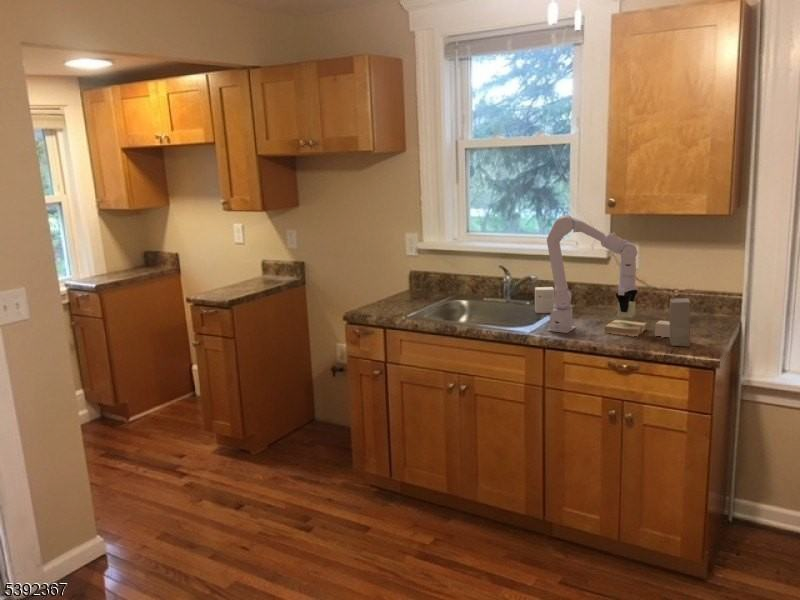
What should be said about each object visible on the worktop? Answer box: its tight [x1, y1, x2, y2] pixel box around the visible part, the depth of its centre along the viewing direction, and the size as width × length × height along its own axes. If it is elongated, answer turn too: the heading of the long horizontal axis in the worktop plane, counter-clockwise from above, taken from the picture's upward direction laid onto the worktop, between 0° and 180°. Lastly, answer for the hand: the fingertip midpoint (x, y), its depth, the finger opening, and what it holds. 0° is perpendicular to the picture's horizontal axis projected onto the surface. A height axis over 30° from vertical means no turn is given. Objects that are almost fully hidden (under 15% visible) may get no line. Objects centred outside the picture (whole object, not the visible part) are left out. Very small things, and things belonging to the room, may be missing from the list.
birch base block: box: [604, 319, 647, 337], centre depth 247 cm, size 12×12×3 cm
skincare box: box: [668, 297, 691, 348], centre depth 227 cm, size 8×7×16 cm
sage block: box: [616, 301, 637, 318], centre depth 246 cm, size 5×5×5 cm
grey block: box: [654, 320, 670, 338], centre depth 239 cm, size 5×5×5 cm
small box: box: [534, 286, 555, 314], centre depth 282 cm, size 8×6×10 cm
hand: (626, 310), depth 246 cm, fingers closed on sage block, 5 cm apart
